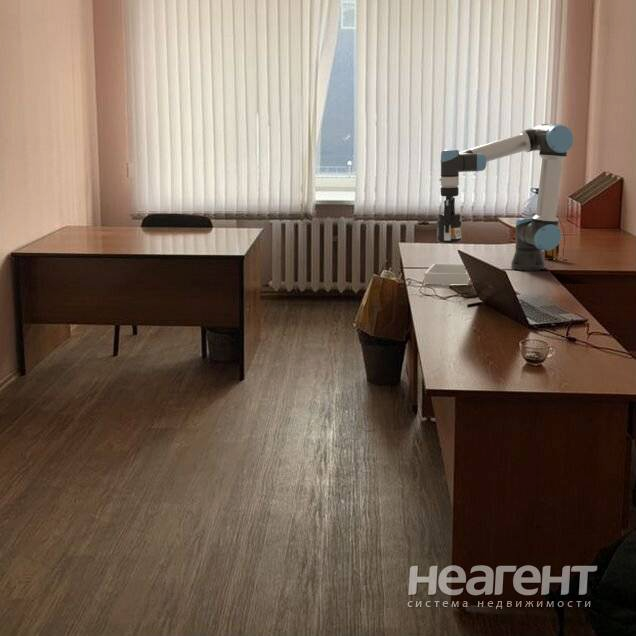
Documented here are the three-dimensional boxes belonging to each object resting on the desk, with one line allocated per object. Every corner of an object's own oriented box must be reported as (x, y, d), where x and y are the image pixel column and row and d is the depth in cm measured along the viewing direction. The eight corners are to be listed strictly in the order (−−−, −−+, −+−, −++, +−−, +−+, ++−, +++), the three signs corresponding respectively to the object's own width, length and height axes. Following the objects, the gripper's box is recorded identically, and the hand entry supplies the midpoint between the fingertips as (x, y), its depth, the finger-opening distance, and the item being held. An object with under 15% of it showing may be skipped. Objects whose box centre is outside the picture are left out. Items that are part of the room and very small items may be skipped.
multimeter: (574, 259, 480) (575, 217, 475) (561, 261, 474) (562, 219, 469) (549, 256, 491) (550, 215, 487) (536, 258, 485) (537, 217, 481)
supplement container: (462, 243, 427) (463, 214, 424) (437, 243, 427) (438, 215, 425) (460, 239, 437) (460, 212, 434) (435, 240, 437) (435, 212, 435)
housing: (433, 274, 449) (433, 263, 448) (473, 275, 444) (474, 264, 443) (424, 284, 426) (424, 273, 425) (467, 285, 421) (467, 274, 420)
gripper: (444, 184, 439) (444, 234, 444) (436, 189, 417) (436, 242, 422) (462, 184, 437) (461, 234, 442) (454, 189, 415) (454, 242, 420)
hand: (449, 238), depth 432 cm, fingers closed on supplement container, 10 cm apart
